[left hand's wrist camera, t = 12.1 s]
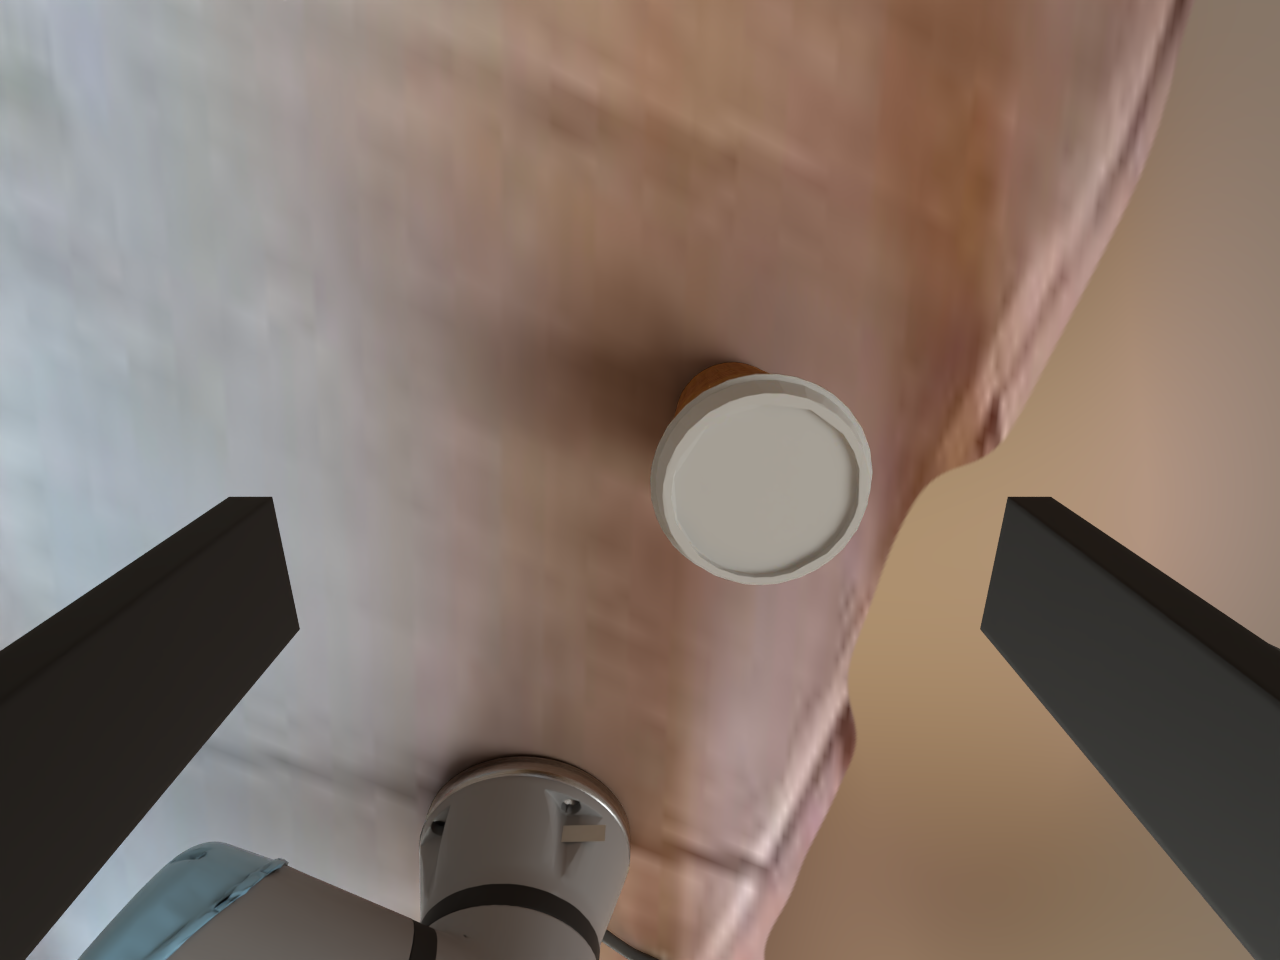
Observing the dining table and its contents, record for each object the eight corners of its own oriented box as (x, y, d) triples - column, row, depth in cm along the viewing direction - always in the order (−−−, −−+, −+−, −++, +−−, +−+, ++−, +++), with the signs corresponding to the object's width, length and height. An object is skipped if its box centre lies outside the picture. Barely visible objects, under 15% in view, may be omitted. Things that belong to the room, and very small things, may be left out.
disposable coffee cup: (846, 398, 39) (930, 469, 28) (741, 520, 42) (779, 631, 30) (716, 297, 37) (749, 331, 26) (614, 433, 40) (605, 517, 28)
